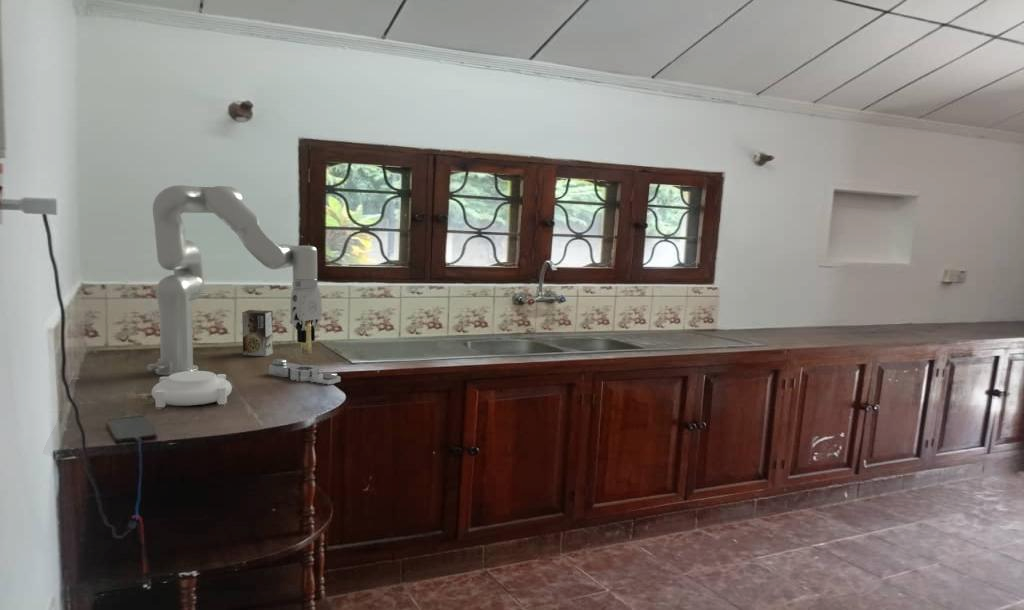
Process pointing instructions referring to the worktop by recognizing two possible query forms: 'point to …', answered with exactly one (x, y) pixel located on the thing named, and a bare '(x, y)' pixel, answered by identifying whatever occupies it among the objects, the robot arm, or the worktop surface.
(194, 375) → the round stand with pegs
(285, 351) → the worktop surface
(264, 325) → the coffee box
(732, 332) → the worktop surface
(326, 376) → the link
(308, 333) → the pin
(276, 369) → the link
